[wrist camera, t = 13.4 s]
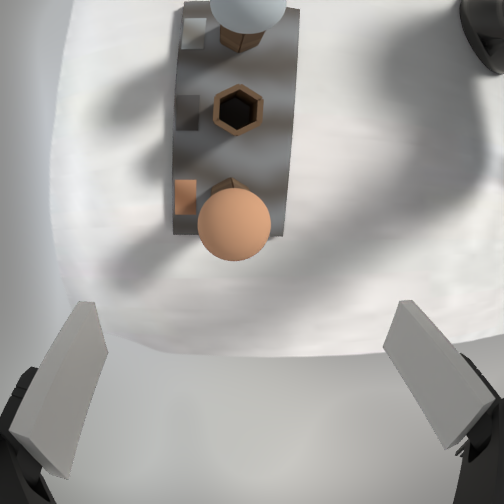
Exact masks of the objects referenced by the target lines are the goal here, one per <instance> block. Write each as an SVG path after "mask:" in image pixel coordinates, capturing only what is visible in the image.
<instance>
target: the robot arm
mask: <svg viewBox="0 0 504 504" xmlns="http://www.w3.org/2000/svg"><path fill="white" fill-rule="evenodd" d="M460 16H461V21H462V25H463V28H464V31H465V34H466V36H467V38H468V40H469V43H470V44H471V46H472V48H473V50H474V51H475V53H476V54H477V56H478V57H479V59H480V60H481V61H482V62H483V63H484V65H485V66H487V67H488V68H489V69H490V70H491V71H493V72H495V73H498V74H504V0H462V2H461V5H460ZM383 348H384V350H385V351H386V353H387V354H388V356H389V358H390V359H391V361H392V362H393V364H394V365H395V367H396V369H397V370H398V372H399V373H400V375H401V377H402V378H403V380H404V381H405V383H406V385H407V386H408V388H409V389H410V391H411V393H412V394H413V396H414V398H415V399H416V401H417V402H418V404H419V406H420V408H421V409H422V411H423V413H424V414H425V416H426V417H427V420H428V421H429V423H430V424H431V426H432V428H433V430H434V432H435V434H436V435H437V437H438V439H439V440H440V442H441V444H442V446H443V448H444V450H446V449H448V448H450V447H452V446H454V445H456V444H458V443H459V442H460V441H461V440H462V439H463V438H464V437H465V436H466V435H467V437H468V440H467V441H466V442H465V443H464V444H463V445H462V446H461V447H460V448H459V450H457V451H456V454H455V456H457V455H458V454H459V453H461V451H463V450H464V452H463V453H462V454H461V455H460V457H463V459H462V465H461V470H460V475H459V480H458V485H457V489H456V493H455V498H454V502H453V504H504V398H503V399H501V397H500V396H499V395H498V394H497V392H496V391H495V390H494V389H493V387H492V386H491V385H490V383H489V382H488V381H487V380H486V378H485V377H484V376H483V375H481V374H482V373H481V372H480V371H479V370H478V369H476V368H477V367H476V366H475V365H474V364H473V362H472V361H471V360H470V359H469V358H467V357H466V356H465V355H463V354H461V353H459V352H458V351H457V350H456V348H455V347H454V346H453V345H452V344H451V343H450V341H449V340H448V339H447V338H446V337H445V336H444V335H443V333H442V332H441V331H440V330H439V329H438V328H437V327H436V326H435V324H434V323H433V322H432V321H431V320H430V319H429V318H428V317H427V316H426V314H425V313H424V312H423V311H422V310H421V309H420V308H419V307H418V306H417V305H416V304H415V303H414V302H413V300H406V301H399V304H398V307H397V310H396V313H395V316H394V318H393V321H392V324H391V327H390V329H389V332H388V335H387V337H386V340H385V342H384V345H383ZM107 355H108V351H107V347H106V344H105V341H104V337H103V333H102V329H101V326H100V322H99V318H98V314H97V310H96V306H95V302H81V301H79V302H78V303H77V305H76V306H75V308H74V310H73V311H72V313H71V314H70V316H69V317H68V319H67V321H66V322H65V324H64V326H63V327H62V329H61V330H60V332H59V334H58V336H57V337H56V339H55V341H54V342H53V344H52V346H51V347H50V349H49V351H48V352H47V354H46V356H45V358H44V360H43V361H42V363H41V365H40V367H39V368H35V367H30V368H29V369H28V370H27V371H26V372H25V373H23V374H22V375H21V377H20V379H19V381H18V383H17V385H16V388H14V390H13V392H12V396H11V397H10V398H9V400H8V402H7V404H6V406H5V408H4V410H3V412H2V414H1V416H0V504H56V502H55V500H54V498H53V496H52V494H51V492H50V490H49V488H48V486H47V484H46V482H45V480H44V478H43V476H42V475H41V473H40V472H41V469H42V467H43V468H44V469H45V470H46V471H47V472H48V473H49V474H51V475H54V476H57V477H60V478H64V479H67V480H69V476H70V472H71V468H72V464H73V460H74V456H75V453H76V449H77V445H78V442H79V438H80V435H81V431H82V428H83V424H84V421H85V418H86V415H87V411H88V409H89V405H90V402H91V399H92V396H93V394H94V390H95V388H96V384H97V382H98V379H99V376H100V374H101V371H102V368H103V365H104V362H105V360H106V357H107Z"/></svg>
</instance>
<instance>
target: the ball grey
mask: <svg viewBox="0 0 504 504" xmlns="http://www.w3.org/2000/svg"><path fill="white" fill-rule="evenodd" d="M210 7H211V11H212V14H213V16H214V17H215V19H216V20H217V21H218V22H219V23H220V24H221V25H222V26H223V27H225V28H227V29H229V30H231V31H234V32H237V33H242V34H255V33H260V32H263V31H265V30H268V29H269V28H271V27H273V26H274V25H276V24H277V23H278V22H279V21H280V19H281V18H282V16H283V14H284V12H285V9H286V0H210Z"/></svg>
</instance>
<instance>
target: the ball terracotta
mask: <svg viewBox="0 0 504 504" xmlns="http://www.w3.org/2000/svg"><path fill="white" fill-rule="evenodd" d="M270 229H271V220H270V215H269V212H268V209H267V207H266V206H265V204H264V203H263V201H262V200H261V199H260V198H259V197H258V196H256V195H255V194H254V193H252V192H250V191H248V190H245V189H240V188H229V189H224V190H221V191H219V192H217V193H215V194H213V195H212V196H211V197H210V198H209V199H208V200H207V201H206V202H205V203H204V205H203V206H202V208H201V210H200V213H199V217H198V233H199V236H200V239H201V241H202V243H203V245H204V246H205V247H206V249H207V250H208V251H209V252H211V253H212V254H213V255H215V256H216V257H218V258H220V259H223V260H228V261H240V260H245V259H248V258H250V257H252V256H254V255H255V254H256V253H258V252H259V251H260V250H261V249H262V248H263V246H264V245H265V243H266V242H267V240H268V237H269V234H270Z"/></svg>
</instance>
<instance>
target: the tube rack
mask: <svg viewBox="0 0 504 504" xmlns="http://www.w3.org/2000/svg"><path fill="white" fill-rule="evenodd" d="M299 17H300V9H295V8H288V7H286V9H285V12H284V14H283V16H282V18H281V19H280V21H279V22H278V23H277V24H276V25H274V26H273V27H271V28H269V29H268V30H265V31H263V32H260V33H255V34H242V33H237V32H234V31H231V30H229V29H227V28H225V27H223V26H222V25H221V24H220V23H219V22H218V21H217V20H216V19H215V17H214V16H213V14H212V11H211V7H210V1H190V2H184V8H183V16H182V24H181V32H180V41H179V51H178V62H177V74H176V88H175V104H174V126H173V167H172V196H173V235H199V233H198V217H199V213H200V210H201V208H202V206H203V205H204V203H205V202H206V201H207V200H208V199H209V198H210V197H211V196H212V195H213V194H215V193H217V192H219V191H221V190H224V189H229V188H240V189H245V190H248V191H250V192H252V193H254V194H255V195H256V196H258V197H259V198H260V199H261V200H262V201H263V203H264V204H265V206H266V207H267V209H268V212H269V215H270V220H271V229H270V234H269V236H283V230H284V221H285V211H286V200H287V190H288V179H289V168H290V156H291V144H292V132H293V119H294V105H295V90H296V75H297V58H298V39H299Z"/></svg>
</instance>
